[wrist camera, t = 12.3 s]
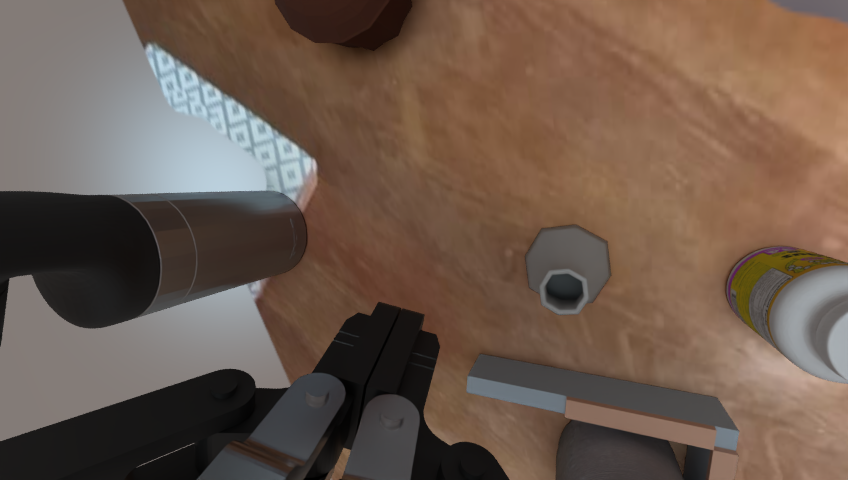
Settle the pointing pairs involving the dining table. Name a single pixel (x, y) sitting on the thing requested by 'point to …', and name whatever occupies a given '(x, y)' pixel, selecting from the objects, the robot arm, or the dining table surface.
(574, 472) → the pillar candle
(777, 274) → the supplement bottle
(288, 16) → the muffin
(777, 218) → the dining table surface
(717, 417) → the corner arena
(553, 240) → the flask
